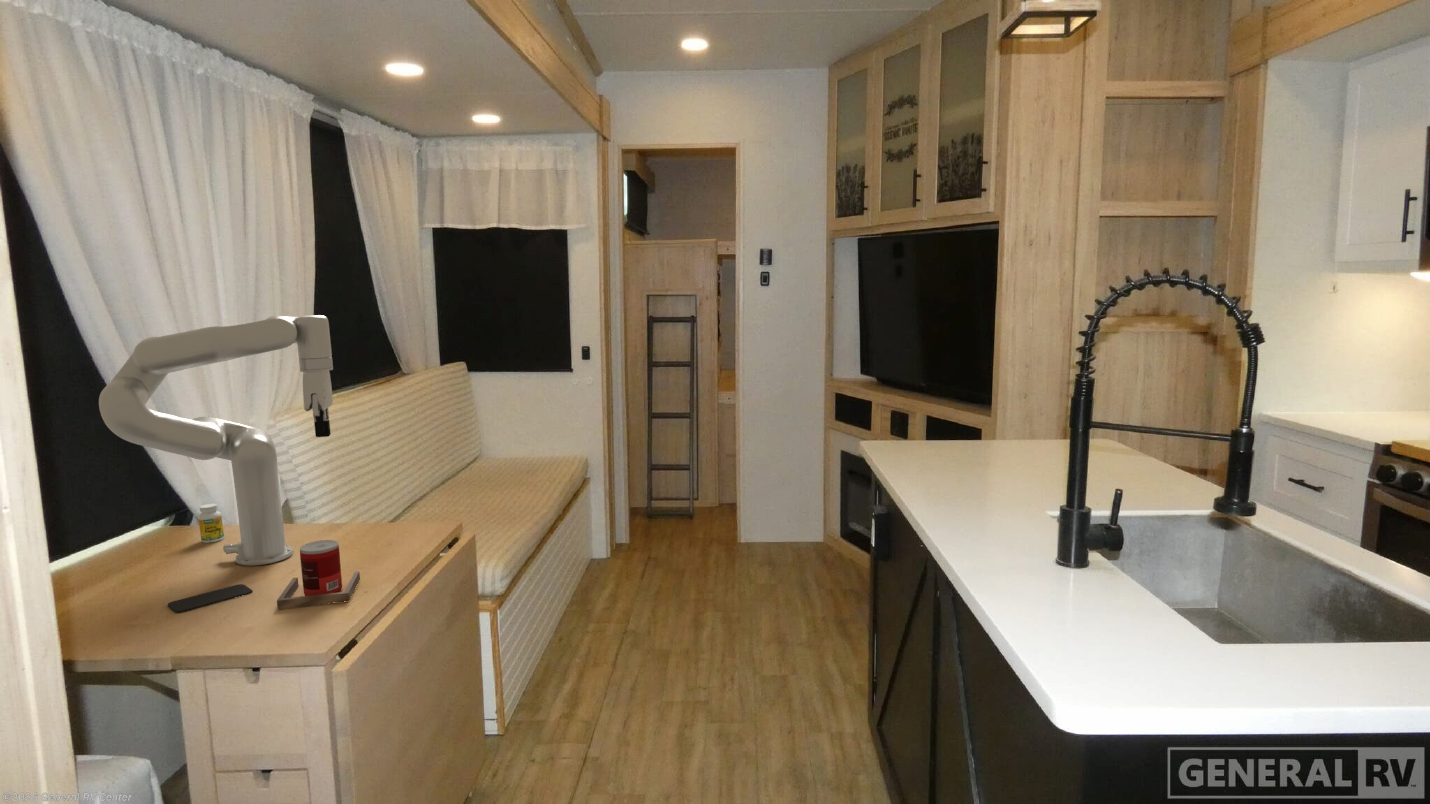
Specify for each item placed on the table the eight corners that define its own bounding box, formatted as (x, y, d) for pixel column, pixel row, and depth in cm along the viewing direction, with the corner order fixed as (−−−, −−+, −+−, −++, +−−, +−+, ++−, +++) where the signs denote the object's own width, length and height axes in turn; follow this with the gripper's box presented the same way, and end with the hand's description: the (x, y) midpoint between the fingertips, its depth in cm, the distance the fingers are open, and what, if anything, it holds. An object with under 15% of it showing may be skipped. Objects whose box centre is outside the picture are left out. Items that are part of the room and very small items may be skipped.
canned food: (346, 585, 185) (342, 538, 183) (337, 598, 177) (333, 549, 176) (310, 588, 184) (305, 541, 182) (299, 601, 176) (294, 552, 174)
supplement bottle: (221, 535, 223) (217, 501, 222) (226, 539, 220) (222, 505, 218) (198, 540, 220) (194, 505, 218) (203, 544, 216) (199, 509, 214)
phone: (254, 591, 182) (177, 611, 171) (254, 594, 182) (177, 615, 171) (242, 583, 187) (166, 603, 176) (242, 586, 187) (166, 606, 176)
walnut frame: (277, 609, 172) (276, 600, 172) (293, 586, 185) (292, 577, 185) (349, 601, 175) (348, 593, 175) (360, 579, 188) (359, 571, 188)
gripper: (307, 362, 212) (314, 431, 215) (291, 368, 197) (299, 443, 200) (338, 361, 213) (345, 430, 216) (325, 367, 199) (332, 441, 202)
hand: (323, 436), depth 208 cm, fingers closed
